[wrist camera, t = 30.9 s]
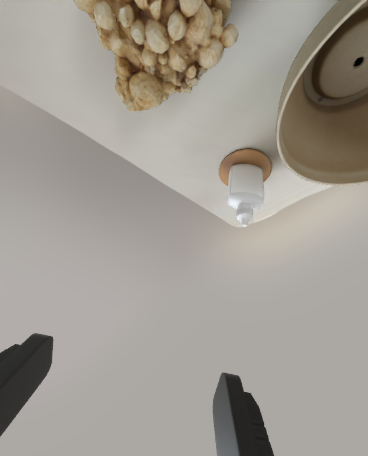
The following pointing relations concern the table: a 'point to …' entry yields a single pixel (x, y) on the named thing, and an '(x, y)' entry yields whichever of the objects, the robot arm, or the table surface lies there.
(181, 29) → the mineral formation
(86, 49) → the table surface
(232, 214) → the table surface
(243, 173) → the eye dropper bottle
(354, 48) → the planter bowl
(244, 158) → the cork coaster
